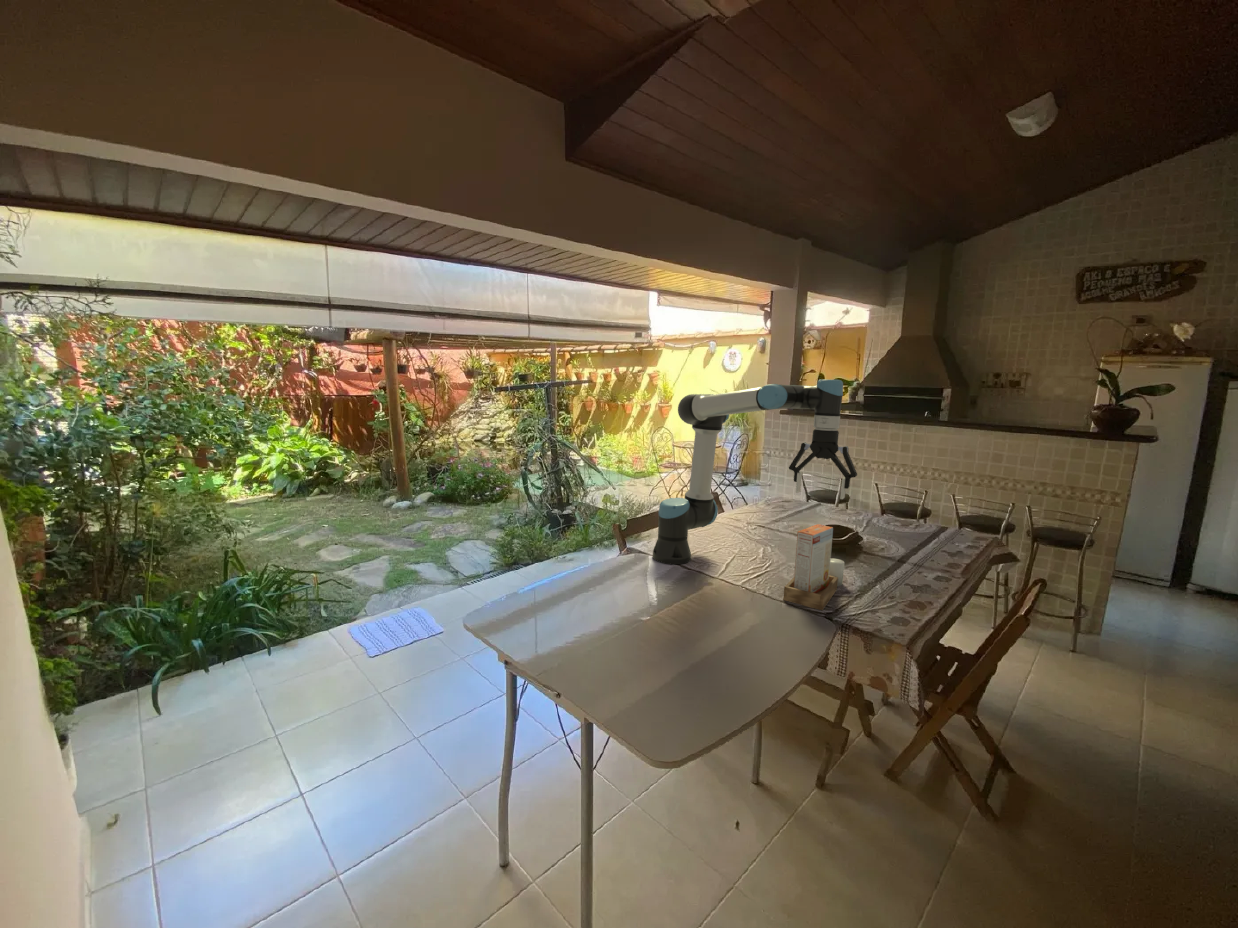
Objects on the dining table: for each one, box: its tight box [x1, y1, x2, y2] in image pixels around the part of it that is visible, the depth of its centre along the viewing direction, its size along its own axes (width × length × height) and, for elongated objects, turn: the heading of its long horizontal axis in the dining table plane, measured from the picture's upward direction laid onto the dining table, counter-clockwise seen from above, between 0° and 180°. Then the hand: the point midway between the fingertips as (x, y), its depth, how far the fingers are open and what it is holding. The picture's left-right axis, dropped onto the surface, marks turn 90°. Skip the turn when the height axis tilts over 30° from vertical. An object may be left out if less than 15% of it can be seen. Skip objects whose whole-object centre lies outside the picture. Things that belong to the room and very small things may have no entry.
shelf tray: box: [782, 575, 838, 611], centre depth 161 cm, size 12×20×4 cm, turn 144°
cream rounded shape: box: [829, 558, 845, 587], centre depth 171 cm, size 6×6×8 cm
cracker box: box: [793, 523, 834, 593], centre depth 160 cm, size 14×6×21 cm, turn 132°
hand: (819, 495), depth 156 cm, fingers open, 13 cm apart
